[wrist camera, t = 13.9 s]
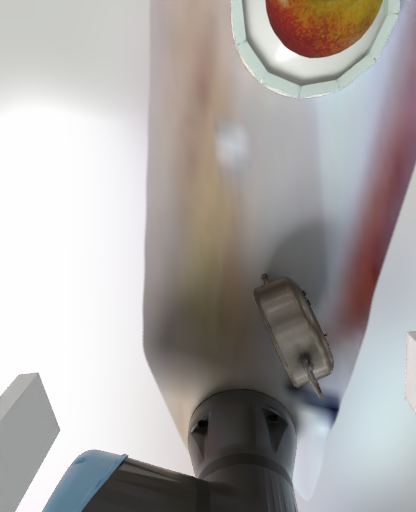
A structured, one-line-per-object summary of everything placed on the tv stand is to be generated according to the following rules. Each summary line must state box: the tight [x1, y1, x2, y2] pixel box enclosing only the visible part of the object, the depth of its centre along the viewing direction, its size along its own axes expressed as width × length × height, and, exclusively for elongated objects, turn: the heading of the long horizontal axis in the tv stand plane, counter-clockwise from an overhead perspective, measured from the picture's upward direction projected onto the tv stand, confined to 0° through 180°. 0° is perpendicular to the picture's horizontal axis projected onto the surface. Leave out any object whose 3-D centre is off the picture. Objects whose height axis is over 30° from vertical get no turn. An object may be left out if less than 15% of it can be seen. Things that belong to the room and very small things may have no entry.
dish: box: [230, 0, 400, 99], centre depth 32 cm, size 15×15×2 cm
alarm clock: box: [253, 274, 334, 398], centre depth 35 cm, size 11×5×16 cm, turn 25°
